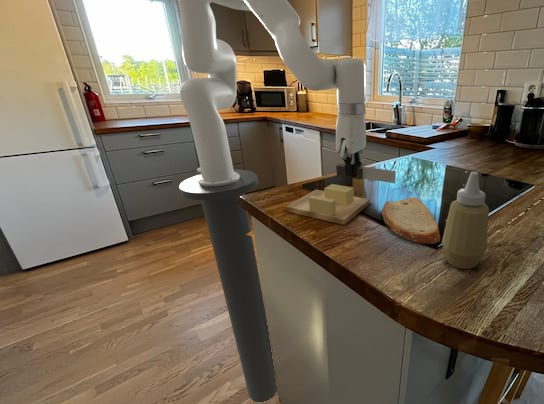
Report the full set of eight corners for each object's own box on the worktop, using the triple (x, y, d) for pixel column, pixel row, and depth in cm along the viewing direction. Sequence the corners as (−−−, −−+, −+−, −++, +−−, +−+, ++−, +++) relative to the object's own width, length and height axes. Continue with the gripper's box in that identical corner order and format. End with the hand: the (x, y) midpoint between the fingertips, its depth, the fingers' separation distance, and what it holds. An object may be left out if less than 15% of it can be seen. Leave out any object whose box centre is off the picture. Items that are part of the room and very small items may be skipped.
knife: (336, 176, 88) (336, 164, 87) (340, 173, 90) (340, 162, 89) (393, 184, 81) (393, 172, 79) (396, 181, 82) (397, 169, 81)
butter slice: (309, 210, 76) (308, 197, 75) (312, 208, 78) (311, 195, 76) (332, 216, 73) (331, 202, 72) (335, 213, 75) (335, 199, 73)
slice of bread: (434, 248, 62) (436, 232, 61) (361, 227, 71) (361, 213, 69) (458, 216, 76) (460, 202, 75) (394, 201, 85) (395, 189, 83)
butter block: (325, 201, 82) (324, 188, 81) (332, 196, 85) (332, 183, 84) (347, 205, 79) (346, 192, 78) (354, 200, 82) (353, 187, 81)
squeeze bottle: (441, 247, 63) (450, 164, 55) (482, 253, 60) (497, 168, 53) (438, 269, 56) (449, 178, 48) (484, 277, 53) (502, 182, 46)
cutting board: (286, 211, 80) (285, 206, 79) (316, 193, 91) (316, 189, 91) (344, 225, 72) (344, 219, 72) (369, 204, 84) (369, 199, 83)
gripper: (353, 106, 88) (354, 166, 95) (323, 112, 74) (327, 182, 82) (376, 107, 84) (376, 169, 92) (349, 114, 71) (351, 185, 79)
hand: (353, 174), depth 87 cm, fingers closed on knife, 2 cm apart
